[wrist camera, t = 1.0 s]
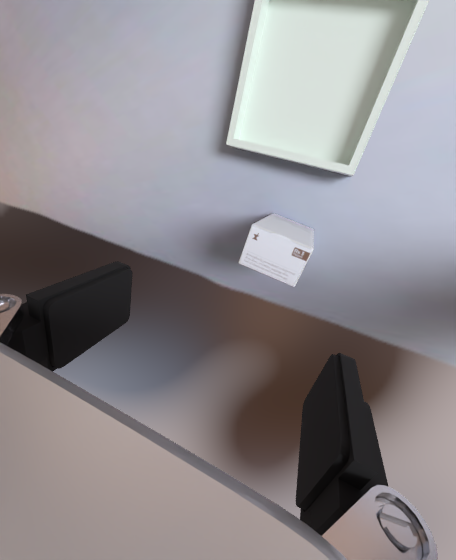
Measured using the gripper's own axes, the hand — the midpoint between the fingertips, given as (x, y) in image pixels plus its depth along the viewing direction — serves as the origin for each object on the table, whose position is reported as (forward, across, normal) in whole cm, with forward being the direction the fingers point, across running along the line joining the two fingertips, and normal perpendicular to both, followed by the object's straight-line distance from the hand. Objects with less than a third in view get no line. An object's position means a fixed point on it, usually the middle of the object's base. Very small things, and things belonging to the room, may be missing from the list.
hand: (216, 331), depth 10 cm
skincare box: (+25, 0, 0) cm, 25 cm away
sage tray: (+25, +3, -16) cm, 30 cm away
